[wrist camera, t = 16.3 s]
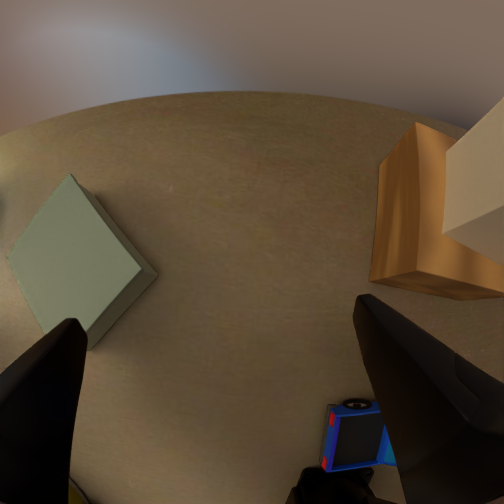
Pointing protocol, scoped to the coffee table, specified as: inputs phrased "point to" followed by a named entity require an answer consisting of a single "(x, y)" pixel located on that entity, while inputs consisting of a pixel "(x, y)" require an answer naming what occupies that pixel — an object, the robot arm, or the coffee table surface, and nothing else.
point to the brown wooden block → (424, 226)
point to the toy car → (355, 437)
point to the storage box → (77, 263)
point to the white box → (477, 187)
